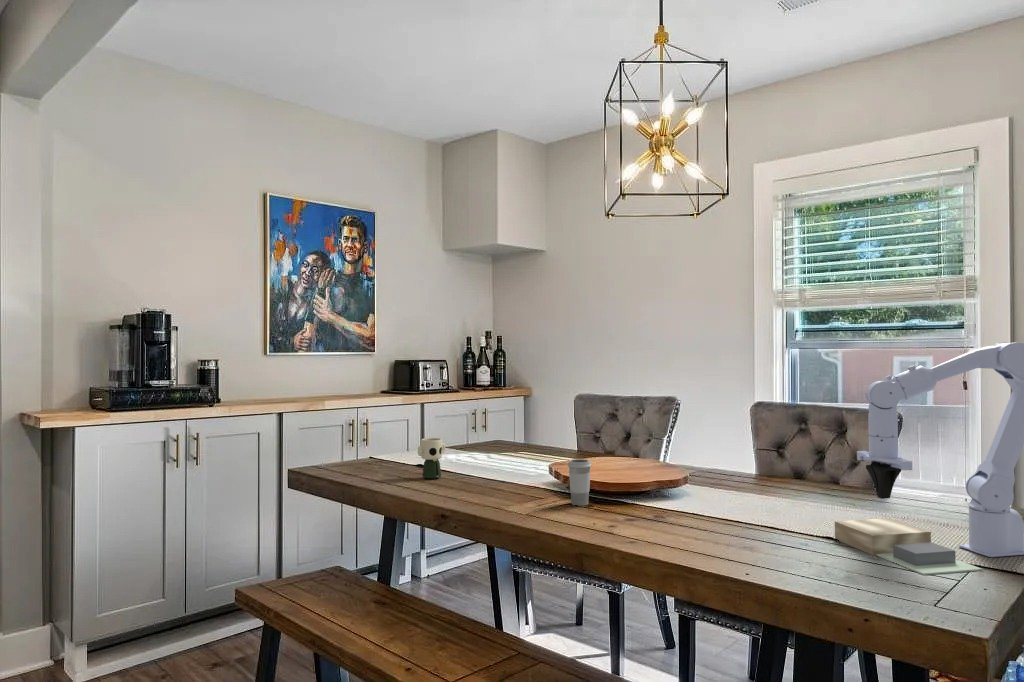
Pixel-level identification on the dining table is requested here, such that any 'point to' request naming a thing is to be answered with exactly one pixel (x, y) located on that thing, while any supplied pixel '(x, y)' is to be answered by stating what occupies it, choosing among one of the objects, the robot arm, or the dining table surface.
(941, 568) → the mat
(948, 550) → the slate tile
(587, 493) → the cup
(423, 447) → the character mug
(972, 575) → the dining table surface
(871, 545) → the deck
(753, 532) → the dining table surface
